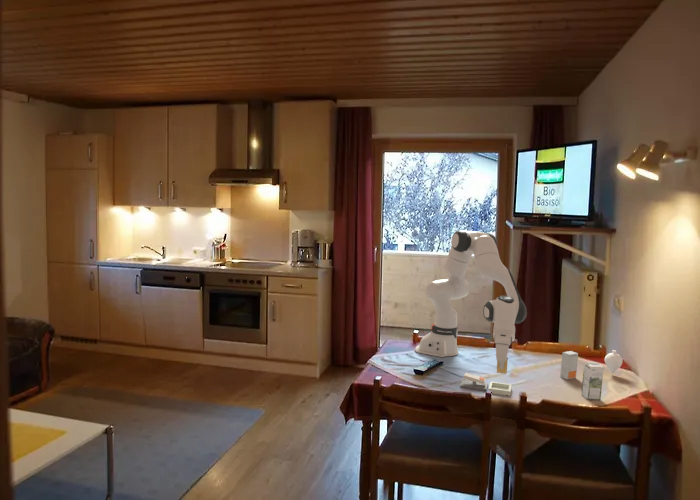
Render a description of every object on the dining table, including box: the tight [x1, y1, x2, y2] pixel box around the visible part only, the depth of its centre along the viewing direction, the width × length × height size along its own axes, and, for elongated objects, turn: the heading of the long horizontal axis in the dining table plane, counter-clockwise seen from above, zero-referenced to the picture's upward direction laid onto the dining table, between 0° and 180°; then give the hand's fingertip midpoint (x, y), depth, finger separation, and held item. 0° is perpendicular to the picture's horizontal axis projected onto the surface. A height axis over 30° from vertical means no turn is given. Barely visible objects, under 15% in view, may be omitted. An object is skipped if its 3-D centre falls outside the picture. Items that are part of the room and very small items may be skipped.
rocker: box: [462, 372, 487, 384], centre depth 239 cm, size 9×4×2 cm, turn 71°
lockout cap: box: [496, 356, 509, 375], centre depth 233 cm, size 4×4×6 cm
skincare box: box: [559, 350, 579, 380], centre depth 254 cm, size 6×4×12 cm
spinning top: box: [604, 349, 624, 376], centre depth 260 cm, size 8×8×12 cm
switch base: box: [459, 379, 489, 392], centre depth 239 cm, size 11×8×2 cm
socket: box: [487, 381, 513, 397], centre depth 235 cm, size 9×9×2 cm
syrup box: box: [581, 362, 605, 401], centre depth 230 cm, size 6×6×14 cm
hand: (501, 366), depth 233 cm, fingers closed on lockout cap, 4 cm apart
